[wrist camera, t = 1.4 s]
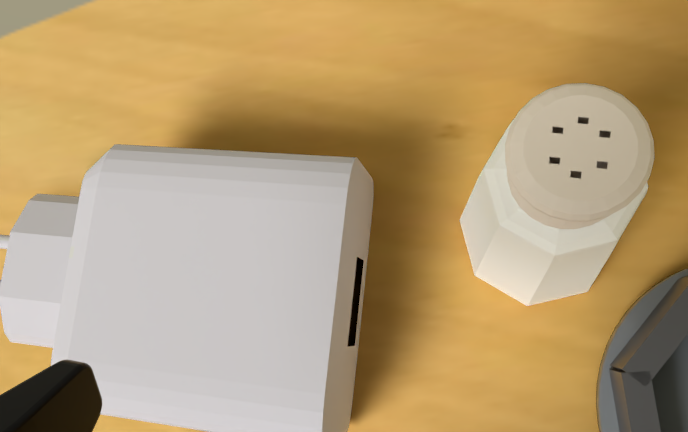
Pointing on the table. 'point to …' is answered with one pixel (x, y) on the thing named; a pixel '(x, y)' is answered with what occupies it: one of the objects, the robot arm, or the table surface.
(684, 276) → the grey octagonal tray
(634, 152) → the pepper shaker
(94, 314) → the charger
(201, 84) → the table surface
